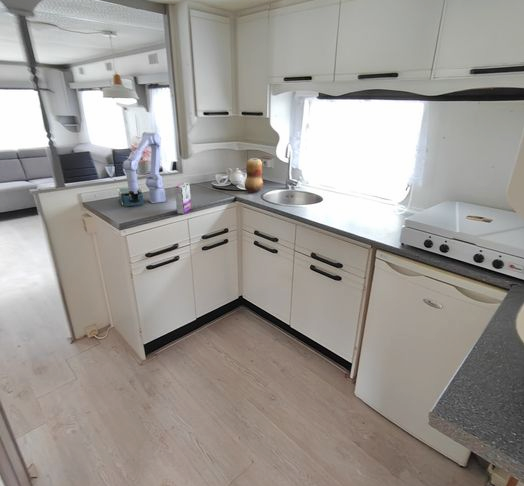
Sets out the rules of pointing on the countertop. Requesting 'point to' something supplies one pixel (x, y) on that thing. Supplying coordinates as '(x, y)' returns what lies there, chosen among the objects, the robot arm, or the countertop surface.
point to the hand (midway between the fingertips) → (135, 202)
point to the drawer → (129, 201)
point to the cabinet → (124, 191)
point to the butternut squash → (254, 175)
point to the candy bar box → (183, 198)
